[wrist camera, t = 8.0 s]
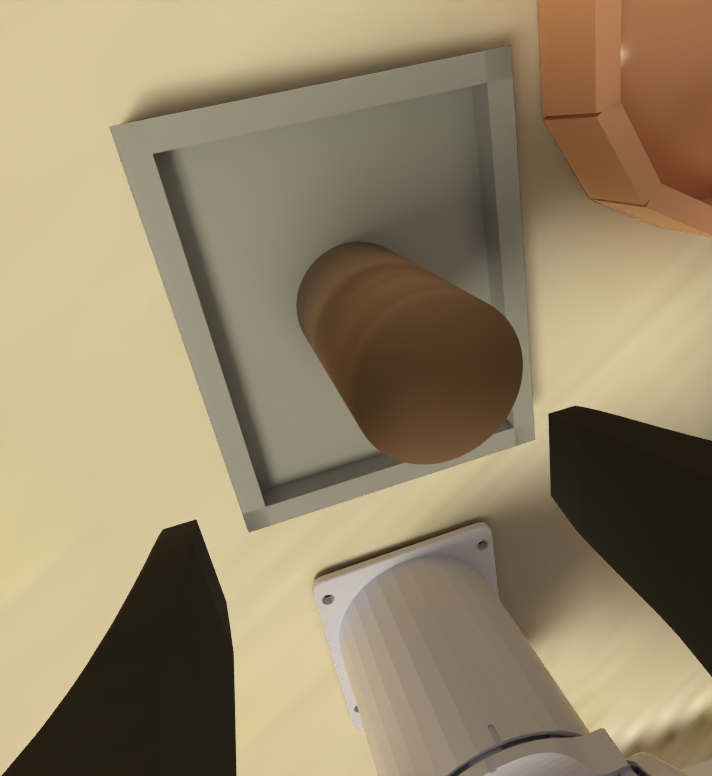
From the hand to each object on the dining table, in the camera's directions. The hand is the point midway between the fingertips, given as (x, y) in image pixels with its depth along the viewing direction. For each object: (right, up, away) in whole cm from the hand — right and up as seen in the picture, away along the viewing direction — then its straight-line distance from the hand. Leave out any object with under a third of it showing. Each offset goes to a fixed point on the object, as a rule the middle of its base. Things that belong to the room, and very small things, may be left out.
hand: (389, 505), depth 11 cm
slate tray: (-1, +5, +8) cm, 10 cm away
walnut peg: (-1, +5, +8) cm, 9 cm away
